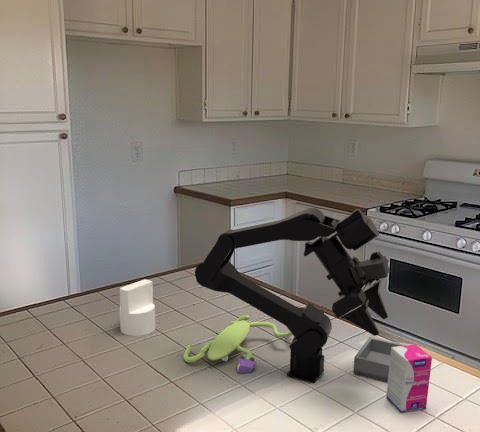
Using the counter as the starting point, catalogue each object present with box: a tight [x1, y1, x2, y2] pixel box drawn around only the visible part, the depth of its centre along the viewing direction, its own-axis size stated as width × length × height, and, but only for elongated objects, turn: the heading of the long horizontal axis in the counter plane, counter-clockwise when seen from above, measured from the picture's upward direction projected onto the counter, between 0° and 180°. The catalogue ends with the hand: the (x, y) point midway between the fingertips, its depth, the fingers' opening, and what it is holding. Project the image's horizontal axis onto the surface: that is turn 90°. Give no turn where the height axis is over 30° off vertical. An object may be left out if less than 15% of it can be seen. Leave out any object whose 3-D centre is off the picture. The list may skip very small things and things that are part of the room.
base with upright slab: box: [119, 278, 156, 337], centre depth 140 cm, size 9×9×12 cm
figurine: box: [183, 314, 293, 374], centre depth 130 cm, size 18×27×6 cm
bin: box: [352, 336, 407, 384], centre depth 121 cm, size 12×12×4 cm
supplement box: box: [386, 344, 433, 413], centre depth 107 cm, size 6×6×12 cm
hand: (381, 326), depth 110 cm, fingers open, 9 cm apart
